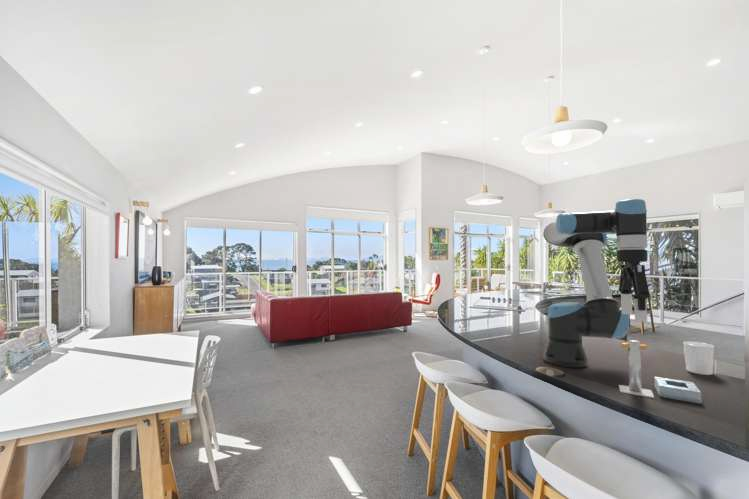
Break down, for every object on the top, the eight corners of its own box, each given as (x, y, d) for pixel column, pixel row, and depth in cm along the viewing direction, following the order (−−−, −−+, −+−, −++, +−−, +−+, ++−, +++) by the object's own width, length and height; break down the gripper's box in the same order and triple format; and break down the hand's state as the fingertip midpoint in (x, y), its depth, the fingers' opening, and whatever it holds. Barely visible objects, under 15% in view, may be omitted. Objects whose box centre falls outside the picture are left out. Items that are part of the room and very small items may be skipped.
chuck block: (659, 396, 97) (659, 385, 97) (654, 386, 104) (654, 376, 104) (701, 403, 92) (701, 392, 92) (693, 392, 99) (693, 382, 99)
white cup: (717, 377, 112) (716, 348, 112) (685, 372, 117) (684, 344, 117) (712, 371, 118) (711, 343, 119) (682, 366, 123) (681, 340, 123)
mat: (620, 392, 100) (620, 390, 100) (618, 385, 105) (618, 384, 105) (654, 398, 96) (654, 396, 96) (651, 391, 101) (651, 390, 101)
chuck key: (622, 387, 103) (620, 339, 103) (645, 390, 100) (644, 341, 101) (624, 390, 100) (623, 341, 101) (649, 393, 98) (647, 343, 98)
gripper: (607, 250, 115) (608, 310, 114) (629, 248, 92) (631, 323, 91) (633, 249, 112) (635, 312, 111) (663, 247, 89) (665, 326, 88)
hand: (633, 317), depth 101 cm, fingers open, 13 cm apart
